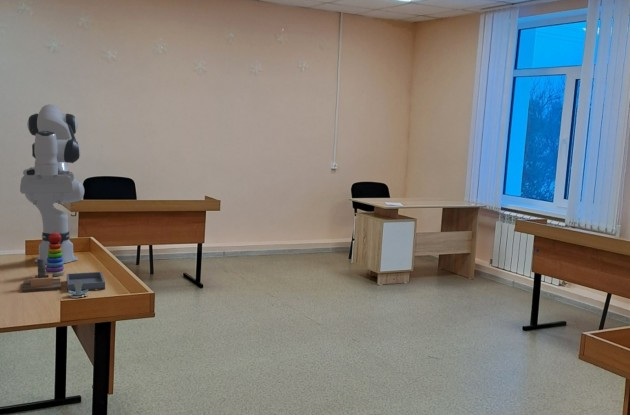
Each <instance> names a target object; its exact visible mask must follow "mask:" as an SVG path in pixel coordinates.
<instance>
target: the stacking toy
mask: <svg viewBox="0 0 630 415" xmlns="http://www.w3.org/2000/svg"><path fill="white" fill-rule="evenodd" d="M49 241H50V242H51V243H50V244H49V249H48V252H49V253H48V258H47V261H48V262H47V263H46V264H45V274H52V277H60V276H63V275H65V273H66V272H65V270H64V269H65V266H64V265H65V263H63V261H62V260H63V258H62V253H61V251H62V249H61V248H60V247H61V244H60V243H59V242H60V241H61V235H60V234H59V233H57V232H54V233H51V234H50V235H49Z"/></svg>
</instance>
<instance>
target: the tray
mask: <svg viewBox="0 0 630 415" xmlns="http://www.w3.org/2000/svg"><path fill="white" fill-rule="evenodd" d="M77 280H80V281H81V282H82V287H81V291H84V290H87V289H88V290H89V291H96V290H95V289H98V290H97V291H101V290H106V281H105V278H104V275H103V272H102V271H93V272H91V271H90V272H79V273H78V272H76V273H75V272H74V273H66V286H67V292H68V291H74V292H75V287H74V283H75V281H77Z"/></svg>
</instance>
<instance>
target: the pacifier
mask: <svg viewBox="0 0 630 415" xmlns="http://www.w3.org/2000/svg"><path fill="white" fill-rule="evenodd" d="M74 287H75V291H68V290H67V292H68V293H69V294H70V295H69V298H71V299H78V298H77V297H82V295H84V296H85V295H87V292H89V291H88V289H87V290H84V291H81V287H82V282H81V281H80V280H77V281H75V283H74Z"/></svg>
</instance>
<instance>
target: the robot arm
mask: <svg viewBox="0 0 630 415" xmlns="http://www.w3.org/2000/svg"><path fill="white" fill-rule="evenodd" d="M26 124H27V129H28V131H29V133H30V135H31V136H35V137H34V142H33V143H32V145H31V148H32V152H31V153H32V157H33V158H34V159H35V161H34V167H29V168H26V169H23V171H22V174H23V176H22V177H21V180H20V185H19V192H20V193H21V194H24V195H25V197H26V199H27V200H28V202H30V203H31V204H32V205H34V206H35V207H36V208H37V209H38V211H39V213H40V215H41V219H42V220H41V221H42V232H41V233H42V234H41V238H42V241H41V242H40V243H39V245H38V256H37V257H36V258H35V259H34V263H38V259H45V265H46V263H47V262H48V261H47V258H48V253H49V252H48V249H49V244H50V243H51V242H50V241H49V235H50V234H51V233H54V232H57V233H59V234H60V235H61V241H60V242H59V243H60V244H61V247H60V248H61V249H62V251H61V253H62V258H63V260H62V261H63V263H64V264H66V263H71V262H75V261H76V262H77V261H78V260H79V259H78V257H77V256H75V255H74V243H73V242H72V241H71V240H70V237H71V234H70V230H69V216H68V214H67V213H65V212H64V211H63V210H60V209H57V208H56V207H55V206H54V204H57V205H62V204H70V203H75V202H80V201H81V200H83V199H84V198H83V197H84V195H85V187H84V185H83V183H81V182H80V181H79V180H78V179H76V178H75V177H74V174H73V172H71V171H70V170H69V167H68V163H69V164H74V163H75V162H77V161H78V160H79V159H80V157H81V148H80V144H79V143H78V141H77V139H76V136H75V135H76V132H77V130H78V121H77V118H76V116H75V115H74V114H71V113H62V111H61V109H60V107H58V106H57V105H55V104H51V103H50V104H45V105H43V106H42V107H41V109H40V110H39V112H38V113H33V114H31V115H30V116H29V117H28V120H27V123H26Z"/></svg>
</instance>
